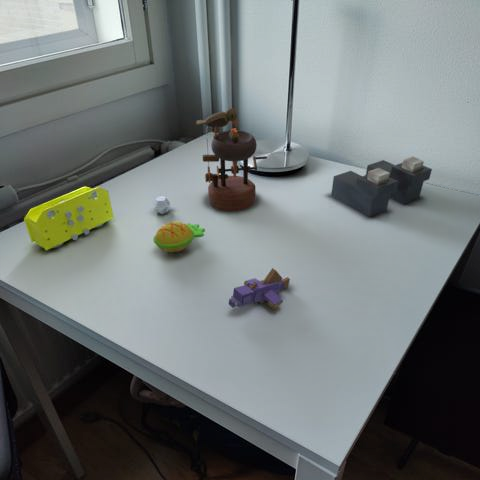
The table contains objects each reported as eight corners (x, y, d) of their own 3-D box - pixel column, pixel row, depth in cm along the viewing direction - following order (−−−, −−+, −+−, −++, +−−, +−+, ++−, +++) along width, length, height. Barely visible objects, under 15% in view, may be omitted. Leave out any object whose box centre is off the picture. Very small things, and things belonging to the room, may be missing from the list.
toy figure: (245, 333, 73) (247, 312, 69) (216, 300, 77) (215, 278, 73) (303, 300, 77) (307, 278, 73) (272, 270, 81) (275, 248, 77)
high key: (387, 182, 95) (389, 172, 93) (377, 186, 93) (379, 176, 92) (376, 177, 97) (378, 167, 95) (366, 180, 95) (368, 171, 94)
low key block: (423, 199, 103) (432, 169, 98) (405, 206, 101) (413, 175, 96) (380, 178, 111) (386, 149, 106) (362, 184, 109) (368, 155, 104)
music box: (209, 217, 98) (201, 116, 86) (197, 198, 106) (188, 104, 94) (276, 205, 101) (277, 107, 89) (259, 188, 110) (258, 96, 98)
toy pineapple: (149, 247, 89) (145, 222, 85) (193, 231, 93) (191, 207, 90) (165, 264, 85) (162, 238, 81) (212, 246, 89) (210, 222, 85)
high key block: (391, 212, 99) (398, 181, 94) (371, 219, 96) (377, 188, 92) (348, 189, 107) (353, 160, 102) (329, 196, 104) (333, 166, 100)
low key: (421, 170, 99) (424, 161, 98) (412, 173, 98) (414, 164, 96) (410, 165, 101) (412, 156, 99) (401, 168, 100) (403, 159, 98)
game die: (157, 206, 101) (156, 194, 99) (173, 208, 101) (172, 196, 99) (151, 214, 99) (149, 201, 97) (167, 216, 98) (165, 203, 96)
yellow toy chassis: (48, 255, 87) (35, 215, 82) (32, 244, 90) (18, 205, 84) (115, 222, 96) (108, 184, 91) (99, 213, 99) (90, 176, 94)
